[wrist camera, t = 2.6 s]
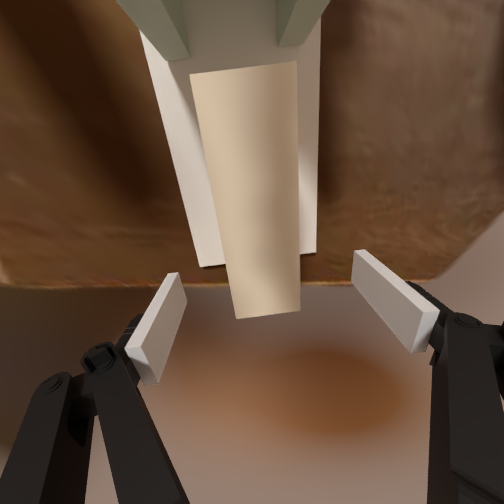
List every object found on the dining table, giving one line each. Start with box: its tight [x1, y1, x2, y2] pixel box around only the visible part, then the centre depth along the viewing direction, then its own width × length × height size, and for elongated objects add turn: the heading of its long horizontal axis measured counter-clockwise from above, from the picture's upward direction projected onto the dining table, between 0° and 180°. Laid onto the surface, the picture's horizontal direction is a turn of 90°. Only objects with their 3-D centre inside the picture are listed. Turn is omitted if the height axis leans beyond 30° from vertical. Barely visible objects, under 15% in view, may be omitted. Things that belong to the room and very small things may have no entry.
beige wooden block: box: [189, 61, 301, 319], centre depth 18 cm, size 5×15×10 cm, turn 6°
